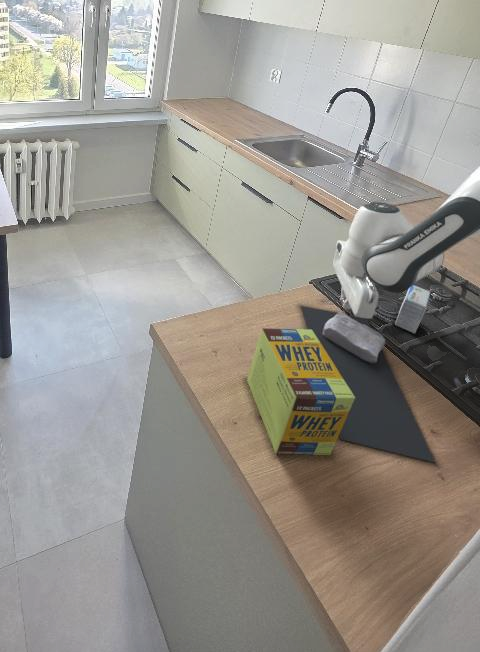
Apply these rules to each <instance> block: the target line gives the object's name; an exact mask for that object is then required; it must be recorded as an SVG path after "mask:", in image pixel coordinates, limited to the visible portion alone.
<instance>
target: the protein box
mask: <svg viewBox="0 0 480 652" xmlns="http://www.w3.org/2000/svg"><path fill="white" fill-rule="evenodd" d="M246 382H247V385H248V387H249V390H250V392H251V394H252V397H253V400H254V403H255V405H256V407H257V410H258V413H259V415H260V417H261V420H262V423H263V426H264V428H265V430H266V432H267V436H268V438H269V440H270V443H271V446H272V448H273V451H274V454H276V455H300V456H301V455H302V456H304V455H305V456H330V455H331V454H332V452H333V450H334V447H335V446H336V443H337V440H338V439H339V437H338V436H339V434H340V431H341V429H342V427H343V424H344V422H345V420H346V418H347V415H348V413H349V411H350V409H351V406H352V404H353V402H354V399H355V396H354V395H353V393H352V392H351V390H350V389H349V387H348V386H347V384H346V382H345V381H344V379H343V378H342V376H341V375H340V373H339V371H338V370H337V368H336V367H335V365H334V363H333V362H332V360H331V359H330V357H329V356H328V354H327V352H326V351H325V349H324V348H323V346H322V345H321V343H320V341H319V340H318V338H317V337H316V335H315V334H314V332H313V331H312V330H311V329H307V328H265V327H262V328H261V330H260V334H259V337H258V340H257V344H256V347H255V351H254V355H253V358H252V362H251V365H250V368H249V372H248V376H247V380H246Z"/></svg>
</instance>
